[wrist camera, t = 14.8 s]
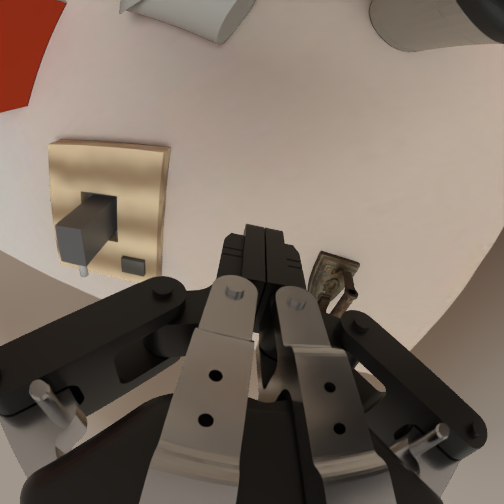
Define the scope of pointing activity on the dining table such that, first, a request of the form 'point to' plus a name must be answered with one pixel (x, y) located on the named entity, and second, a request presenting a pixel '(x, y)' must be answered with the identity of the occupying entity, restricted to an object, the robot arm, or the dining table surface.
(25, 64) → the file binder
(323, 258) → the clothes iron
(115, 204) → the plug
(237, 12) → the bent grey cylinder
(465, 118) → the dining table surface
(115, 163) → the socket board
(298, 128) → the dining table surface
